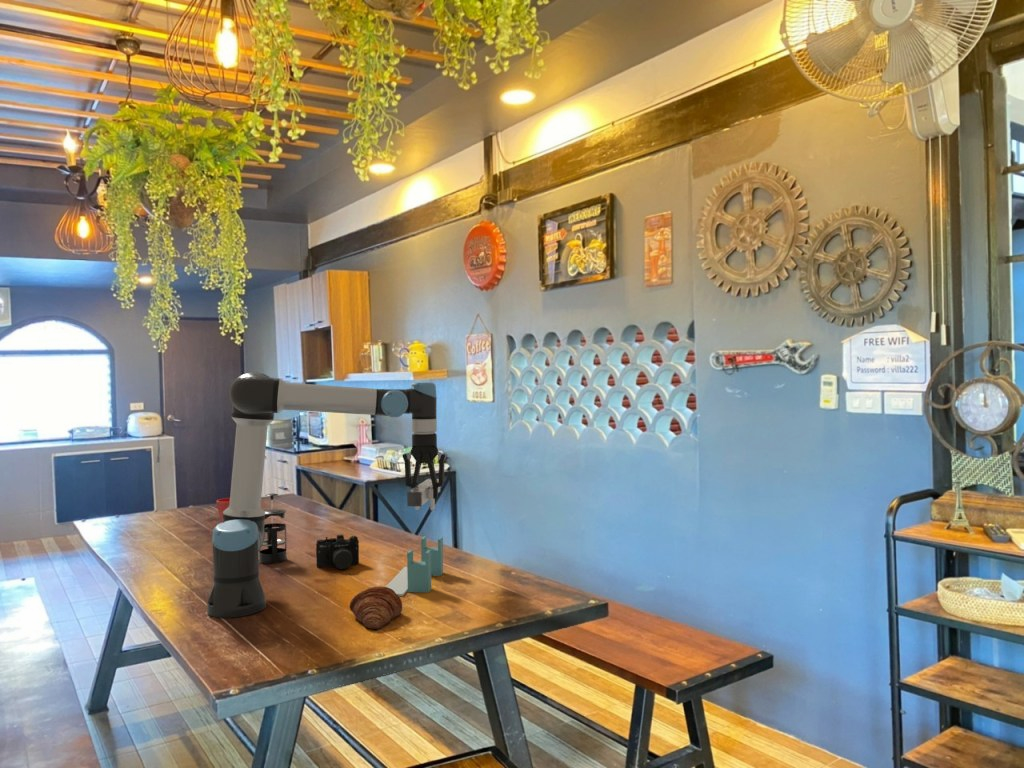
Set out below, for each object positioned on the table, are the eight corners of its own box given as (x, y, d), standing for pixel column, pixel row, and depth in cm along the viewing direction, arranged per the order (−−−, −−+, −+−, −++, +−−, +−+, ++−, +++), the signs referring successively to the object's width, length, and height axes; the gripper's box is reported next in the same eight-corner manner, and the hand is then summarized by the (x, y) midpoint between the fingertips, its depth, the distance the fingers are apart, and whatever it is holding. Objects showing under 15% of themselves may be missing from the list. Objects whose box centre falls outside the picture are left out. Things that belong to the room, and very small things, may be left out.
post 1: (428, 592, 219) (428, 553, 218) (407, 592, 219) (407, 552, 219) (431, 588, 223) (430, 549, 222) (410, 588, 223) (410, 549, 223)
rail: (421, 506, 215) (420, 492, 215) (407, 506, 216) (407, 492, 216) (440, 491, 243) (440, 478, 243) (428, 490, 244) (428, 478, 244)
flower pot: (211, 523, 325) (210, 501, 325) (227, 518, 335) (227, 496, 335) (232, 524, 322) (231, 501, 322) (248, 519, 332) (247, 497, 332)
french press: (289, 562, 256) (288, 495, 255) (260, 565, 252) (259, 497, 251) (284, 554, 266) (283, 490, 266) (256, 558, 262) (255, 492, 262)
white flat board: (402, 596, 215) (402, 594, 215) (379, 595, 216) (379, 593, 216) (425, 568, 245) (425, 566, 245) (404, 568, 246) (404, 566, 246)
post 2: (440, 575, 237) (440, 539, 236) (421, 575, 237) (421, 539, 237) (443, 572, 241) (442, 536, 240) (424, 572, 241) (423, 536, 241)
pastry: (420, 617, 197) (420, 586, 197) (373, 632, 186) (373, 600, 186) (380, 604, 209) (380, 575, 208) (333, 618, 197) (333, 588, 197)
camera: (317, 573, 241) (316, 542, 241) (316, 565, 252) (315, 535, 251) (361, 569, 245) (360, 539, 245) (358, 562, 256) (357, 532, 255)
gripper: (454, 431, 232) (454, 507, 232) (400, 431, 234) (400, 506, 234) (449, 433, 225) (450, 511, 225) (393, 433, 226) (394, 511, 227)
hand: (425, 509), depth 230 cm, fingers closed on rail, 4 cm apart
